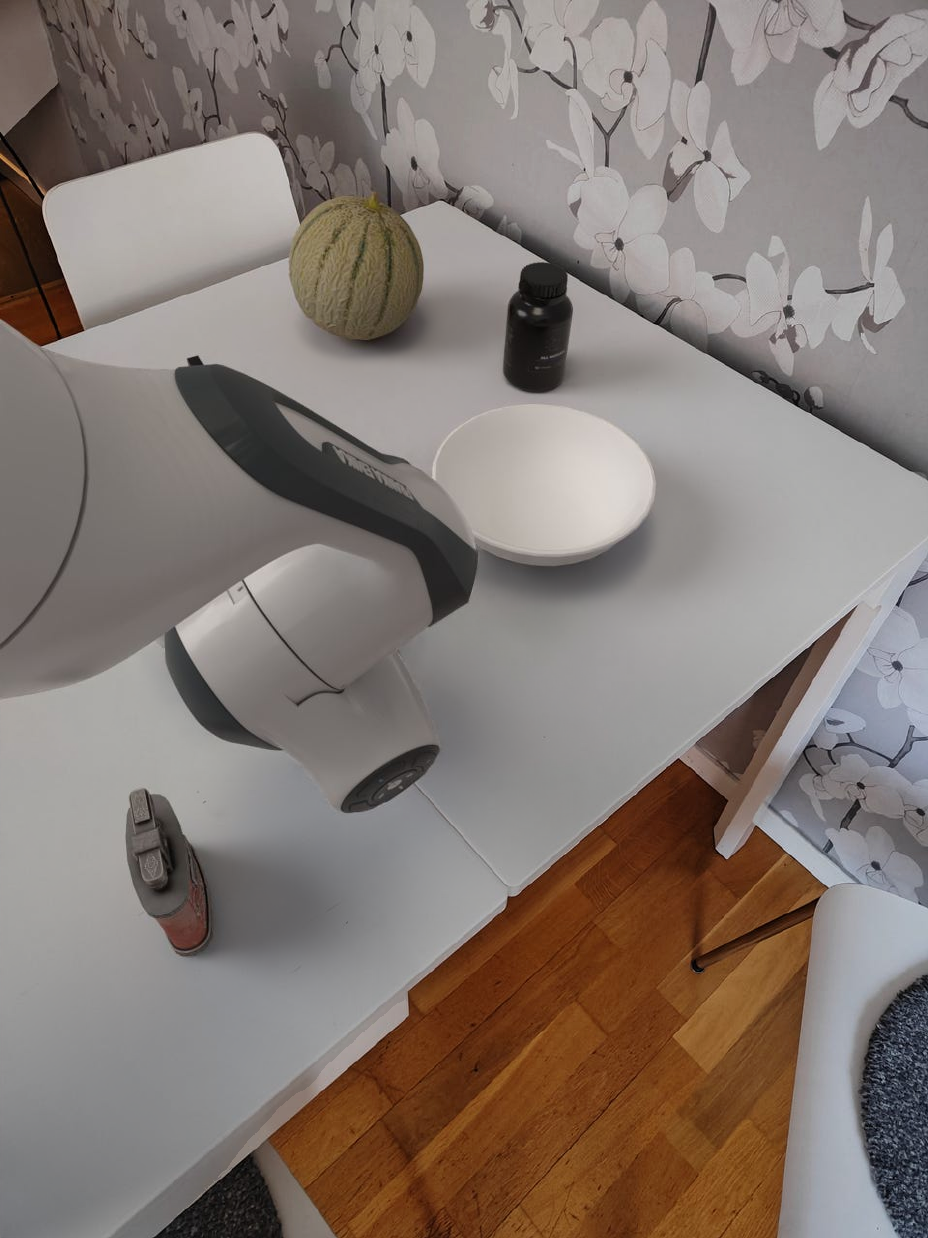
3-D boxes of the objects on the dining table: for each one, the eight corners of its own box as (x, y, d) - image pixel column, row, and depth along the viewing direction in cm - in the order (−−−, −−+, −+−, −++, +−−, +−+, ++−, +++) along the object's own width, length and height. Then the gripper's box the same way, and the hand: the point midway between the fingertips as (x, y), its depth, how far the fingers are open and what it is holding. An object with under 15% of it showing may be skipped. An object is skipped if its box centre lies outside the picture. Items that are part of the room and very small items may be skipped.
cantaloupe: (271, 335, 100) (248, 205, 88) (353, 281, 108) (342, 155, 96) (370, 382, 95) (360, 250, 83) (450, 321, 102) (450, 193, 91)
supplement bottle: (551, 400, 93) (563, 298, 84) (492, 383, 95) (498, 281, 86) (573, 366, 97) (587, 265, 88) (517, 350, 99) (524, 249, 90)
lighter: (221, 945, 57) (186, 885, 49) (169, 965, 56) (124, 907, 48) (198, 837, 61) (162, 767, 53) (149, 854, 60) (105, 784, 53)
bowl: (468, 437, 89) (470, 385, 84) (660, 479, 86) (673, 428, 81) (401, 573, 77) (398, 522, 72) (621, 629, 74) (633, 579, 69)
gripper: (424, 524, 62) (343, 415, 69) (139, 633, 55) (84, 500, 63) (426, 582, 67) (350, 475, 74) (164, 689, 60) (110, 559, 68)
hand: (226, 487), depth 68 cm, fingers closed on switch, 3 cm apart
